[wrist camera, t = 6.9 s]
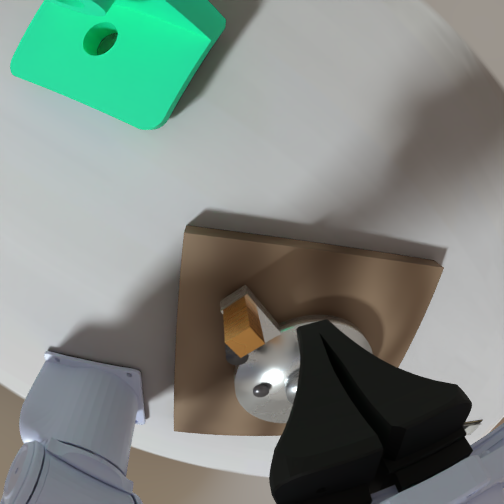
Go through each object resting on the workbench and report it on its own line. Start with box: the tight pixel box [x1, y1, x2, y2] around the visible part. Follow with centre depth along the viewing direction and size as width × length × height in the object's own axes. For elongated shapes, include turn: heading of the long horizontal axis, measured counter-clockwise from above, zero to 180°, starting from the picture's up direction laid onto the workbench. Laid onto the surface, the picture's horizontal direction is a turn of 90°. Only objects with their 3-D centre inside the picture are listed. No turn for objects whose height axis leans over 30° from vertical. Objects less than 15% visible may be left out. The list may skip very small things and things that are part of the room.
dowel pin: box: [225, 343, 249, 365], centre depth 20 cm, size 1×1×3 cm
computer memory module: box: [463, 420, 482, 435], centre depth 38 cm, size 15×1×4 cm
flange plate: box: [220, 285, 373, 423], centre depth 20 cm, size 15×11×5 cm
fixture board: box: [174, 225, 444, 436], centre depth 24 cm, size 20×20×2 cm
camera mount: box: [10, 0, 226, 130], centre depth 10 cm, size 12×8×10 cm, turn 60°
